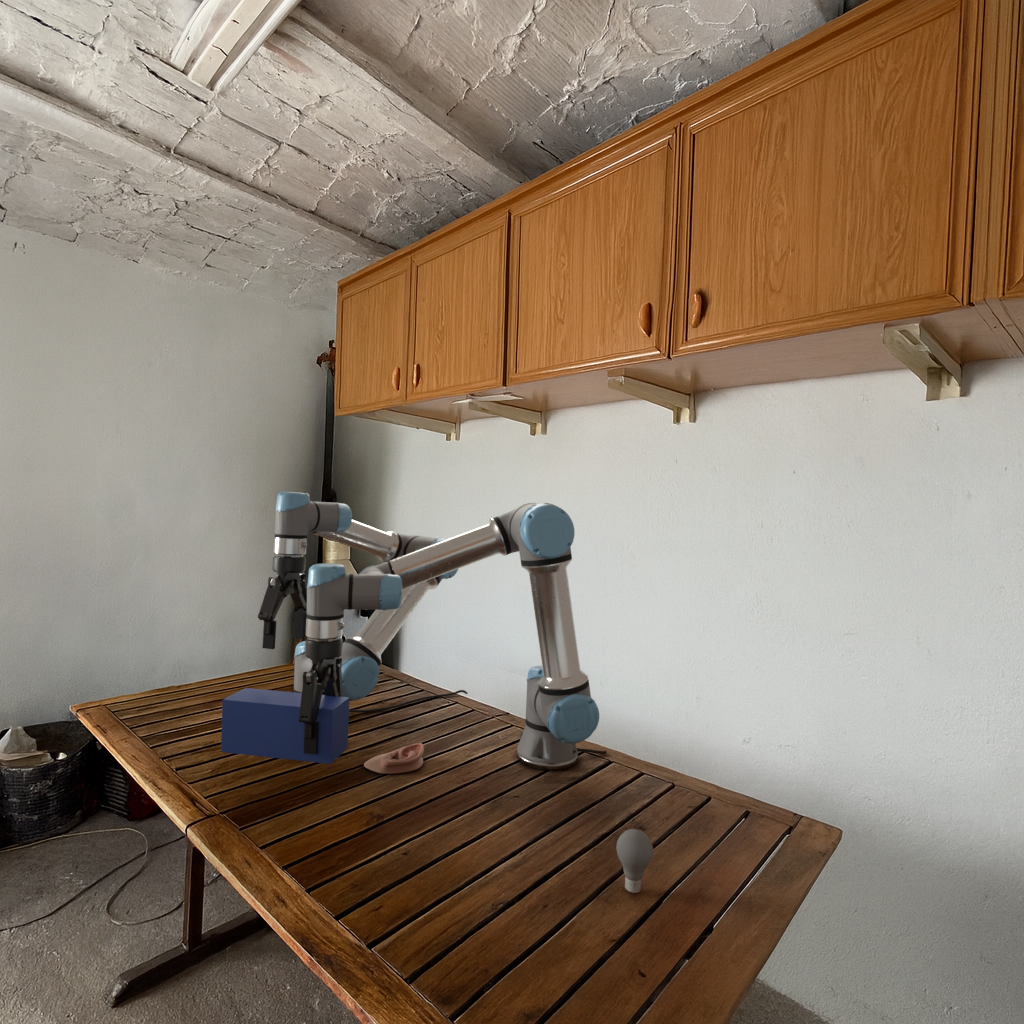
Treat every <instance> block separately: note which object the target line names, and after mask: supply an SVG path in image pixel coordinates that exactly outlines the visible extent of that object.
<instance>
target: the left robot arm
mask: <svg viewBox="0 0 1024 1024" xmlns="http://www.w3.org/2000/svg"><path fill="white" fill-rule="evenodd" d="M274 510H275V517H274V518H275V520H274V537H273V548H272V549H273V551H272V553H273V554H275V555H274V556H273V557H272V568H271V569H272V571H273V572H276V577H274V576H269V577H268V579H267V586H266V590H265V593H264V596H263V599H262V602H261V605H260V608H259V611H258V614H257V619H258V620H259V621H263V629H262V630H263V631H262V647H261V648H262V649H267V650H275V649H276V635H277V621H278V620H275V619H276V617H277V614H278V613H279V611H280V609H281V606H282V604H283V602H284V600H285V598H287V597H288V595H290V597H291V600H292V602H293V604H294V607H295V610H296V611H294V614H293V615H294V616H293V632H292V638H294V639H305V637H306V617H307V585H308V574H307V573H304V572H305V571H306V560H307V559H306V556H305V555H306V554H307V547H308V543H307V542H308V540H307V539H308V533H309V534H312V535H315V536H319V537H322V538H324V539H327V540H330V541H332V542H335V543H338V544H342V545H344V546H347V547H350V548H353V549H356V550H359V551H362V552H364V553H367V554H370V555H373V556H376V557H377V560H379V561H381V562H382V563H385V562H388V561H390V560H393V559H395V558H398V557H401V556H403V555H406V554H409V553H412V552H414V551H417V550H420V549H422V548H425V547H428V546H431V545H433V544H436V543H439V542H441V541H444V540H447V539H448V538H443V537H432V536H425V535H424V536H423V535H414V534H402V533H398V532H395V531H392V530H388V531H383V530H381V529H378V528H376V527H373V526H371V525H367V524H365V523H362V522H360V521H357V520H355V519H353V513H352V509H351V508H350V506H349V505H348V504H346V503H341V502H330V501H329V502H327V501H313V500H311V499H310V494H309V493H308V492H296V491H280V492H278V494H277V497H276V505H275V509H274ZM458 571H459V569H456V570H453V571H451V572H448V573H445V574H443V575H440V576H437V577H435V578H432V579H429V580H427V581H424V582H421V583H419V584H416V585H413V586H411V587H408V588H405V589H403V590H402V601H401V606H400V607H399V608H398V609H389V610H374V611H373V613H372V614H371V615H370V617H369V618H368V619H367V620H366V621H365V624H364V625H362V626H361V628H360V630H359V631H358V632H357V633H356V634H355V636H350V637H346V638H345V640H343V649H342V655H341V656H340V657H339V658H342V667H341V669H342V689H343V697H349V701H358V700H362V699H365V698H366V697H367V696H369V695H370V694H371V693H372V692H373V691H374V689H375V688H376V686H377V684H378V682H379V679H380V677H379V676H380V673H381V672H380V671H381V670H380V666H381V665H382V661H383V660H382V654H383V653H384V651H385V650H386V649H387V647H388V646H389V644H390V643H391V642H392V640H393V639H394V638H395V636H396V635H397V633H398V632H399V631H400V629H401V628H402V627H403V625H404V624H405V622H406V621H407V620H408V618H409V617H410V615H412V613H413V611H415V609H416V608H417V606H418V605H419V603H420V602H421V601H422V599H423V598H424V596H425V595H426V594H427V592H428V591H430V590H435V589H436V588H437V587H438V586H439V585H440V584H441V582H442V581H443V580H448V579H451V578H453V577H454V576H456V574H457V573H458ZM305 643H306V640H304V641H300V642H299V643H297V644H296V646H295V650H294V655H293V657H294V672H293V673H294V674H293V692H295V693H302V688H303V672H309V671H310V668H311V663H312V660H311V659H310V658H307V657H306V656H305ZM317 684H318V683H317ZM460 693H464V695H468V694H469V693H468V692H467V691H466V690H464V689H459V690H457V691H453V692H451V693H442V694H435V695H428V696H423V697H419V698H416V699H411V700H408V701H407V700H406V701H404V702H401V703H398V704H395V705H390V706H385V707H380V708H372V709H349V713H372V712H373V713H374V712H381V711H386V710H390V709H391V710H392V709H396V708H399V707H402V706H405V705H408V704H412V703H416V702H420V701H424V700H428V699H434V698H441V697H442V698H443V697H450V696H454V695H458V694H460ZM322 695H325V693H324V689H323V693H322Z"/></svg>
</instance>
